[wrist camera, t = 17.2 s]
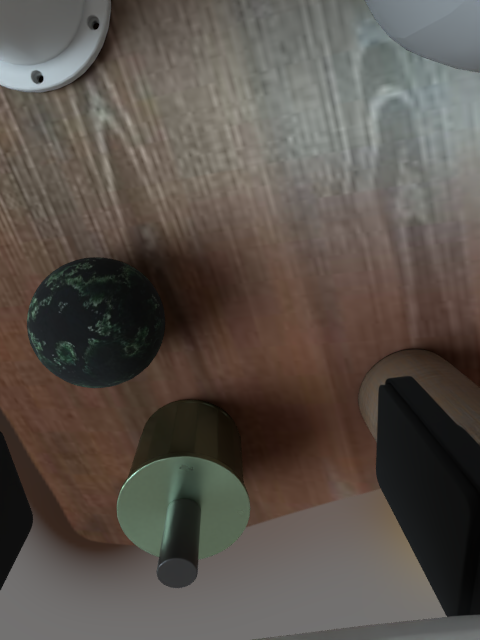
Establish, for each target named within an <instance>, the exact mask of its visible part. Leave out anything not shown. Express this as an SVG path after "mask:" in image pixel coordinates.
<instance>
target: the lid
mask: <svg viewBox="0 0 480 640" xmlns="http://www.w3.org/2000/svg"><path fill="white" fill-rule="evenodd" d="M117 515H118V520H119V523H120V525H121V528H122V529H123V531H124V533H125V534H126V535H127V537H128V538H129V539H130V540H131V541H132V542H133V543H134V544H135V545H137V546H138V547H139V548H141V549H142V550H144V551H146V552H147V553H150V554H152V555H154V556H157V557H159V561H158V567H157V577H158V579H159V580H160V581H161V583H163V584H164V585H166V586H169V587H173V588H182V587H185V586H188V585H190V584H191V583H192V582H194V580H195V579H196V577H197V572H198V559H203V558H207V557H210V556H213V555H215V554H218V553H219V552H221V551H223V550H225V549H226V548H228V547H229V546H231V545H232V544H233V543H234V542H235V541H236V540H237V539H238V538H239V537H240V535H241V534H242V533H243V531H244V529H245V527H246V525H247V523H248V519H249V516H250V501H249V495H248V491H247V489H246V487H245V485H244V483H243V481H242V480H241V478H240V477H239V476H238V475H237V474H236V473H235V472H234V471H233V470H232V469H231V468H230V467H228V466H227V465H225V464H224V463H222V462H220V461H218V460H216V459H214V458H211V457H208V456H204V455H200V454H194V453H172V454H167V455H163V456H159V457H156V458H154V459H151V460H149V461H147V462H145V463H144V464H142V465H140V466H139V467H138V468H137V469H135V470H134V471H133V472H132V473H131V474H130V475H129V476H128V478H127V479H126V481H125V482H124V484H123V486H122V488H121V490H120V493H119V497H118V501H117Z"/></svg>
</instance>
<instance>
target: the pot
mask: <svg viewBox="0 0 480 640" xmlns="http://www.w3.org/2000/svg"><path fill="white" fill-rule="evenodd" d="M172 453H194V454H200V455H204V456H208V457H211V458H214V459H216V460H218V461H220V462H222V463H224V464H225V465H227V466H228V467H230V468H231V469H232V470H233V471H234V472H235V473H236V474H237V475H238V476H239V477H240V478H241V480H242V481H243V483H244V480H243V466H242V452H241V439H240V434H239V431H238V428H237V426H236V424H235V422H234V421H233V419H232V418H231V417H230V416H229V415H228V414H227V413H226V412H225V411H224V410H222V409H221V408H220V407H218V406H216V405H214V404H211V403H209V402H205V401H201V400H180V401H175V402H172V403H169V404H167V405H165V406H163V407H162V408H160V409H158V410H157V411H156V412H155V413H154V414H153V415H152V416H151V417H150V418H149V420H148V421H147V423H146V425H145V427H144V429H143V432H142V435H141V437H140V440H139V444H138V447H137V450H136V453H135V457H134V460H133V463H132V466H131V469H130V473H129V475H130V474H131V473H132V472H133V471H134V470H135V469H137V468H138V467H139V466H140V465H142V464H144V463H145V462H147V461H149V460H151V459H154V458H156V457H159V456H163V455H167V454H172Z"/></svg>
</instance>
